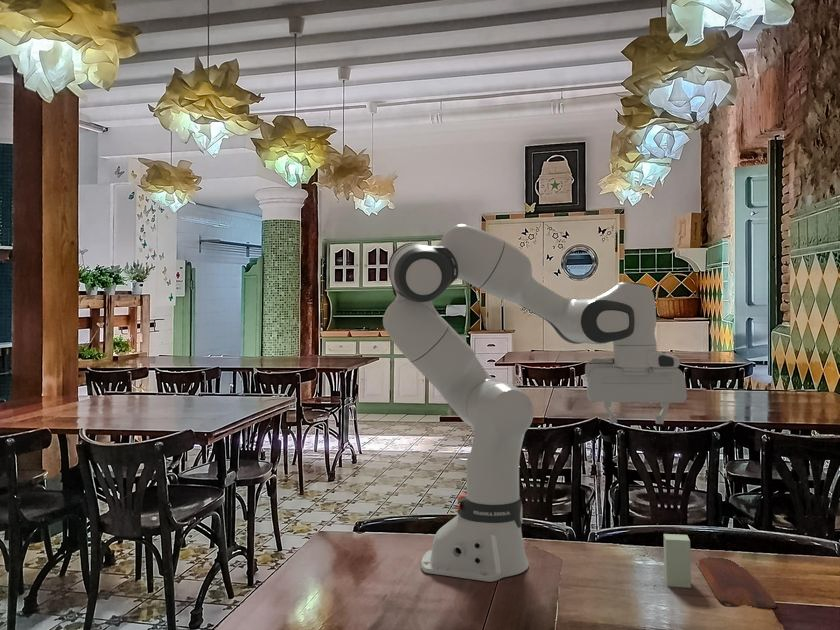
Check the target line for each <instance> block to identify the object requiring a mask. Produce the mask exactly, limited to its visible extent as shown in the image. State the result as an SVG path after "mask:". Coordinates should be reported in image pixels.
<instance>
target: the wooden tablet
mask: <svg viewBox="0 0 840 630" xmlns="http://www.w3.org/2000/svg"><path fill="white" fill-rule="evenodd" d="M699 566H700V569H699V570H700V572H701V573H702V575H703V576H704V578H705V580H706V581H707V584H708V585H709V587H710V589H711V590H712V592H713V595H714V596H715V598H716V599H717V601H719V603H720V604H721V605H722V606H725V607H741V606H745V605H747V606H746V607H749V606H752V607H751V608H754V607H759V608H758V609H764V608H771V609H772V608H774V609H776V608H777V606H778V605H777V602H776V601H775V600H774V598H773V596H772V595H771V594H770V593H769V592H767V591H768V590H767V589H766V588H765V586H762V585H763V584H762V582H760V580H758V578H756V576H754V575H753V574H752V572H751V573H749V572H750V570H749V571H747V570H746V569H744V568H743V567H739V565H738V564H736V563H735V562H733V561H731V560H728V559H724V558H714V557H713V558H711V557H709V558H703V559H700V560H699ZM751 574H752V575H753V576H754V577H753V576H752V575H751ZM771 609H770V610H771ZM772 610H773V609H772Z"/></svg>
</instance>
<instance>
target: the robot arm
mask: <svg viewBox="0 0 840 630" xmlns="http://www.w3.org/2000/svg"><path fill="white" fill-rule="evenodd" d="M387 268H388V269H387V270H388V271H387V272H388V276H389V280H390V284H391V287H392V291H393V296H395V298H394V300H393V301H392V302H391V304H389V306H387V309H386V310H385V312H384V314H383V317H382V326H383V329H384V330H385V332H386V333H387V334H388V336H389V338H390V339H391V341H392V342H393V343H394V345H396V347H397V348H398V350H400V352H401V353H402V354H403V356H405V358H407V359H408V361H409V362H410V363H411V364H412V365H413V366H414V367H415V368H416V369H417V370H418V371H419V372H420V373H421V374H422V375H423V376H424V377H425V378H426V379H427V380H428V381H429V382H430V383H431V384H432V386H434V388H435V389H436V390H437V391H438V392H439V393H440V395H441V396H442V397H443V399H444V400H445V402H446V403H447V404H448V405H449V407H450V408H451V409H452V410H453V411H454V412H455V414H457V415H458V417H459V418H460V419H461V420H462V422H464V423H465V424H466V425H468V426H469V427H472V428H473V433H474V434H473V439H472V445H471V450H470V452H469V455H468V456H467V458H466V462H465V466H466V467H465V468H466V473H465V474H466V476H465V477H466V493H462V494H460V495H459V496H458V498H457V504H456V505H457V507H456V508H457V515H455V516H454V517H453V518H451V519H450V520H449V521H448V522H447V523H445V524H444V525H442V527H440V528H439V529H438V530H437V532H436V533H435V535H434V537H433V539H432V540H433V541H432V547H431V549H429V550H427V551H426V552H425V554H424V555H423V556H422V559H421V564H420V567H421V568H420V569H421V570H422V571H423V572H424V573H426V574H433V575H440V576H448V577H454V578H461V579H468V580H475V581H480V582H490V583H491V582H495V581H499V580H500V579H503V578H507V577H512V576H515V575H519V574H521V573H524V572H525V571H527V570H528V568H529V565H530V564H529V561H528V558H527V555H526V551H525V544H524V539H523V532H522V524H523V504H522V498H521V497H520V460H521V459H520V458H521V451H522V448H523V442H524V438H525V434H526V432H527V430H528V429H529V428H530V427H531V425H532V422H533V419H534V415H535V414H534V412H535V411H534V405H533V403H532V401H531V399H530V397H529V396H528V395H527V394H526V393H525V392H524V391H523V390H521V389H520V388H519V387H518V386H515V385H514V384H511V383H507V382H502V381H499V380H497V379H495V378H494V377H492V376H491V375H490V374H489V373H488V372H487V371H486V369H485V368H484V366H483V365H482V363H481V362H480V360H479V359H478V357H477V355H476V353H475V351H474V349H473V348H472V347H471V346H470V345H469V343H467V342H466V340H464V338H462V337H461V335H460V334H459V333H458V332H457V331H456V330H455V329H454V328H453V327H452V326H451V324H450V323H448V322H447V321H446V320H445V318H443V317H442V316H441V314H440V313H439V312H438V311H437V309H436V308H435V306H434V303H433V300H436V299H437V298H439V297H440V296H441V295H442V294H443V293H445V291H446V290H447V289H448V288H449V287H450V285H452V284H453V283H454V282H455V281H456V280H457V279H459V280H460V281H464V282H466V283H467V284H469V285H471V286H473V287H475V288H477V289H478V290H480V291H482V292H484V293H487V294H489V295H492V296H494V297H497V298H499V299H503V300H506V301H509V302H512V303H514V304H518V306H521V307H523V308H524V309H526V310H528V311H530V312H531V313H533V314H534V315H537V316H538V317H540V318H541V319H543V320H545V321H546V322H547V323H549V325H550V326H551V327H552V328H553V329H554V330H555V333H557V334H558V336H559V337H560V338H561V339H563V340H564V341H565V342H567V343H570V344H574V345H580V344H591V345H594V344H595V345H604V344H608V343H610V342H611V343H612V342H613V343H612V344H613V350H612V351H613V357H612V358H592V359H591V360H589V361H587V362H586V364H585V366H584V375H585V377H586V379H587V387H586V388H587V391H586V397H587V399H588V401H590V402H591V403H603V407H604V408H605V410H606V412H607V414H608V415H609V419H608V420H609V424H617V423H618V414H616V413H613V412H612V411H611V409H610V408H611V407H612V403H660V407H661V410H660V412H659V414H655V417H654V418H655V419H654V420H655V425H657V424H658V425H664V423H665V422H664V420H665V419H664V417H665V415H666V414H667V411H668V410H670V409H669V408H670V403H672V404H673V403H679V404H682V403H684V402H685V401H686V399H687V397H688V393H687V384H686V379H685V376H684V373H683V371H682V370H681V369H680V368H679V367H680V364H681V363H680V358H679V357H678V356H676V355H674V354H673V355H672V354H669V353H667V352H665V351H658V347H657V338H656V337H655V329H656V327H657V309H656V299H655V296H654V292H653V290H652V288H651V287H649V286H648V285H647V284H645V283H640V282H633V281H621V282H620V281H619V282H617V283H616V284H615V285H614V286H613V287H612V288H611V289H608V290H607V291H606V292H603V293H601V294H599V295H598V296H594V297H592V298H584V299H583V298H569V297H564V296H562V295H560V294H559V293H556V292H555V291H554V290H551V289H550V288H549V287H546V286H545V285H543V284H542V283H541V282H540V283H539V281H537V280H536V279H535V278H534V277H533V268H532V263H531V260H530V258H529V257H528V256H527V255H526V254H525V253H524V252H522V251H521V250H520V249H519V248H517V247H516V246H515V245H513V244H511V243H510V242H508V241H506V240H505V239H503V238H500V237H498V236H496V235H495V234H492V233H490V232H487V231H485V230H482V229H480V228H477V227H474V226H472V225H469V224H464V223H460V224H459V223H458V224H456V225H453V226H452V227H450V228H449V229H448V230H446V232H445V233H444V235H443V236H442V238H441V240H440V241H439V242H438V243H437V244H436V245H427V244H423V243H419V242H408V243H405V244H403V245H400V246H399V247H397V248H396V249H395V250H394V251H393V253H392V254H391V256H390V258H389V261H388V267H387Z"/></svg>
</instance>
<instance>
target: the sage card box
mask: <svg viewBox="0 0 840 630" xmlns="http://www.w3.org/2000/svg"><path fill="white" fill-rule="evenodd" d="M691 561H692V559H691V540H690V538H689V536H688V534H678V533H677V534H675V533H673V534H671V533H663V569H664V570H663V574H664V575H663V576H664V579H663V580H664V581H665V585H666V587H672V588H673V587H675V588H689V589H690V588H691V589H692V568H691V566H692V565H691V564H692V563H691Z"/></svg>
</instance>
